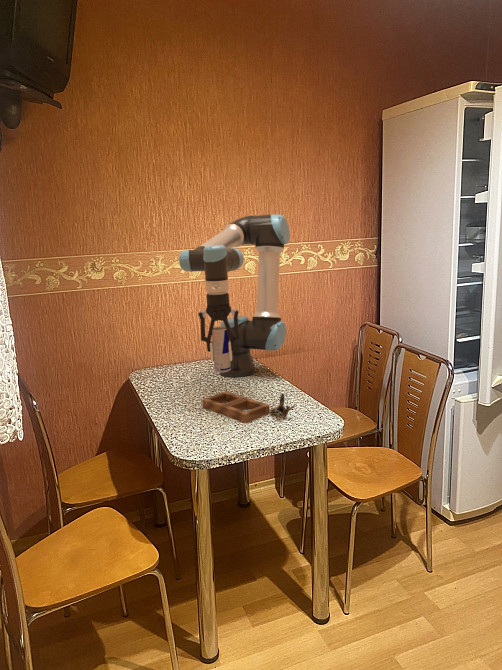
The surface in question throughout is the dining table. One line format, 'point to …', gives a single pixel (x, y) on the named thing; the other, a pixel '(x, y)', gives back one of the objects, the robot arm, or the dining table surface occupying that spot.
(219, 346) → the beverage can
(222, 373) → the robot arm
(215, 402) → the walnut holder board
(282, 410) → the eagle figurine
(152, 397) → the dining table surface
